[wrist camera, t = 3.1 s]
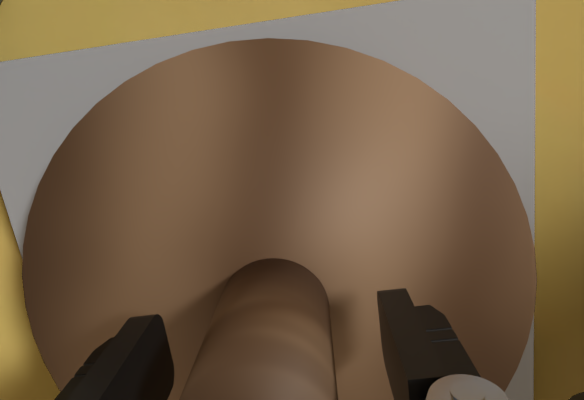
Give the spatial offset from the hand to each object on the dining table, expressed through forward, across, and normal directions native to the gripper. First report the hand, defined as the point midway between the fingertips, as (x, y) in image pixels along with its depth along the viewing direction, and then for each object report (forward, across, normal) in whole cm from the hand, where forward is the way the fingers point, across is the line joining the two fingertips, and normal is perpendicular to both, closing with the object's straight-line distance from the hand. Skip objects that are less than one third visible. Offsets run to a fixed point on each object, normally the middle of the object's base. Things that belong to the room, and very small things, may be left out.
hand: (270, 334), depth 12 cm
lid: (+3, 0, 0) cm, 3 cm away
